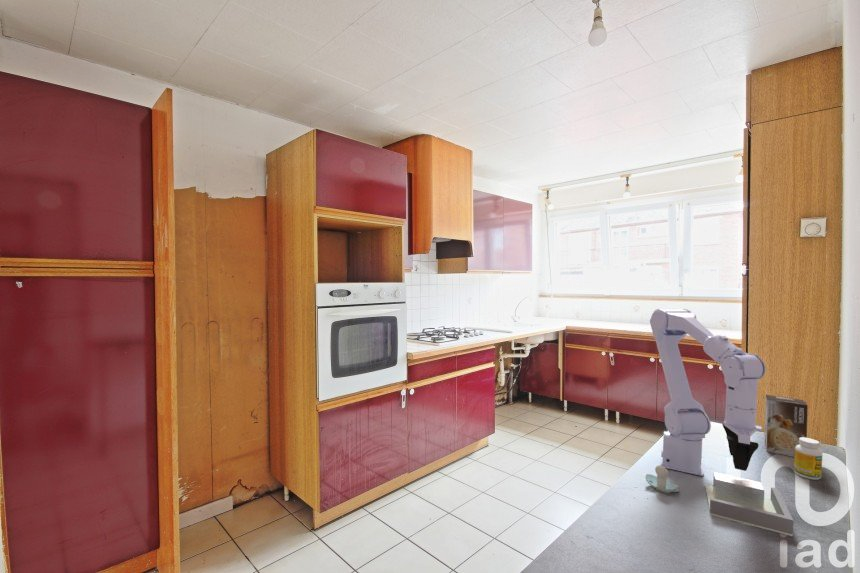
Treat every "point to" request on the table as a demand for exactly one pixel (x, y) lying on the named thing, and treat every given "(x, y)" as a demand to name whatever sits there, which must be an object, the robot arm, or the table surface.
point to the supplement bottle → (808, 459)
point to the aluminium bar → (738, 490)
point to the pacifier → (661, 480)
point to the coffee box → (784, 424)
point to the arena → (755, 512)
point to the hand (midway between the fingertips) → (737, 462)
